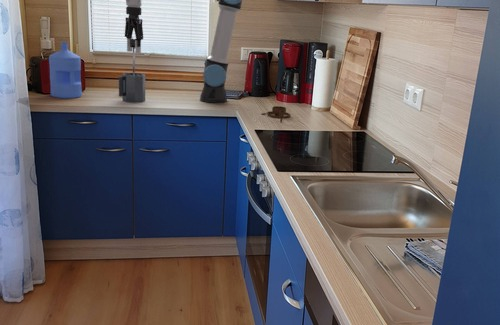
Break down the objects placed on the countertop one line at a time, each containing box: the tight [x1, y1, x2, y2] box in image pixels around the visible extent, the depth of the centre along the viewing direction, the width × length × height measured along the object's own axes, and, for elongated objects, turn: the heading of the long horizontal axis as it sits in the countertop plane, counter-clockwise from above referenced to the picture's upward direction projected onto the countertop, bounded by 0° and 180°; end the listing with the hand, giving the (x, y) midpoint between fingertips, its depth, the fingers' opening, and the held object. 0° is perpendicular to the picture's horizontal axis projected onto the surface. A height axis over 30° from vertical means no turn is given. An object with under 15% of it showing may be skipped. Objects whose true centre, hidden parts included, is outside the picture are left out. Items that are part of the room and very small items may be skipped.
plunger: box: [130, 38, 136, 76], centre depth 264 cm, size 8×8×20 cm
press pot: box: [118, 72, 146, 104], centre depth 267 cm, size 14×11×14 cm
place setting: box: [261, 105, 291, 123], centre depth 253 cm, size 18×20×6 cm
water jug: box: [48, 41, 83, 99], centre depth 266 cm, size 16×16×28 cm
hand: (133, 52), depth 263 cm, fingers open, 8 cm apart
